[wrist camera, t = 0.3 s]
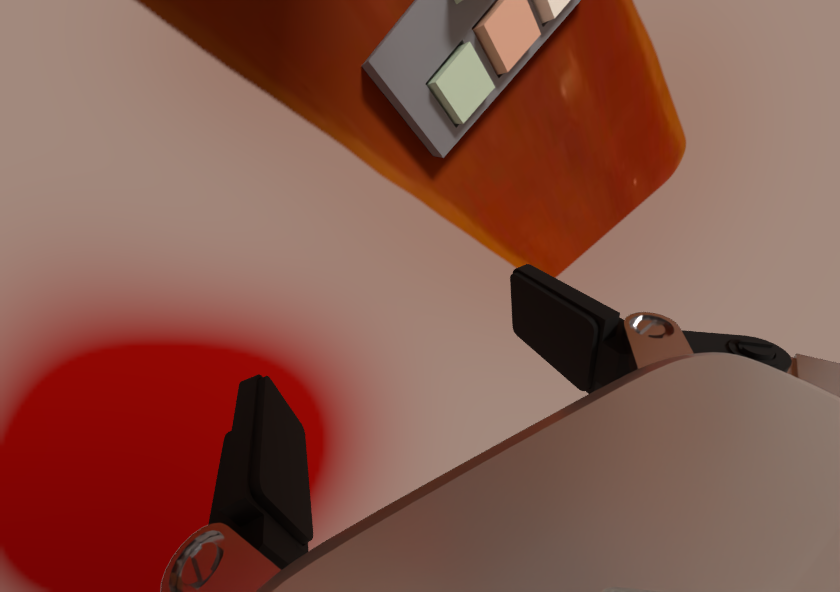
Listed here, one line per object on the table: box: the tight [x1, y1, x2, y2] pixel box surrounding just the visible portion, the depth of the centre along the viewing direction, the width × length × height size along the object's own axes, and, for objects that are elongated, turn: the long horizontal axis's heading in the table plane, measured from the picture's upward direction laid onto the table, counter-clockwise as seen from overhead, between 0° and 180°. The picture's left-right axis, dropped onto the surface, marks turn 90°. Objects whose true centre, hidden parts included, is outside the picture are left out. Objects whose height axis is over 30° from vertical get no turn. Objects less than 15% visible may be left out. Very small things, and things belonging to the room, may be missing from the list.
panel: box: [362, 0, 581, 158], centre depth 31 cm, size 26×12×7 cm, turn 134°
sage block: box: [425, 41, 495, 124], centre depth 33 cm, size 5×5×3 cm
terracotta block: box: [472, 0, 541, 75], centre depth 32 cm, size 5×5×3 cm
